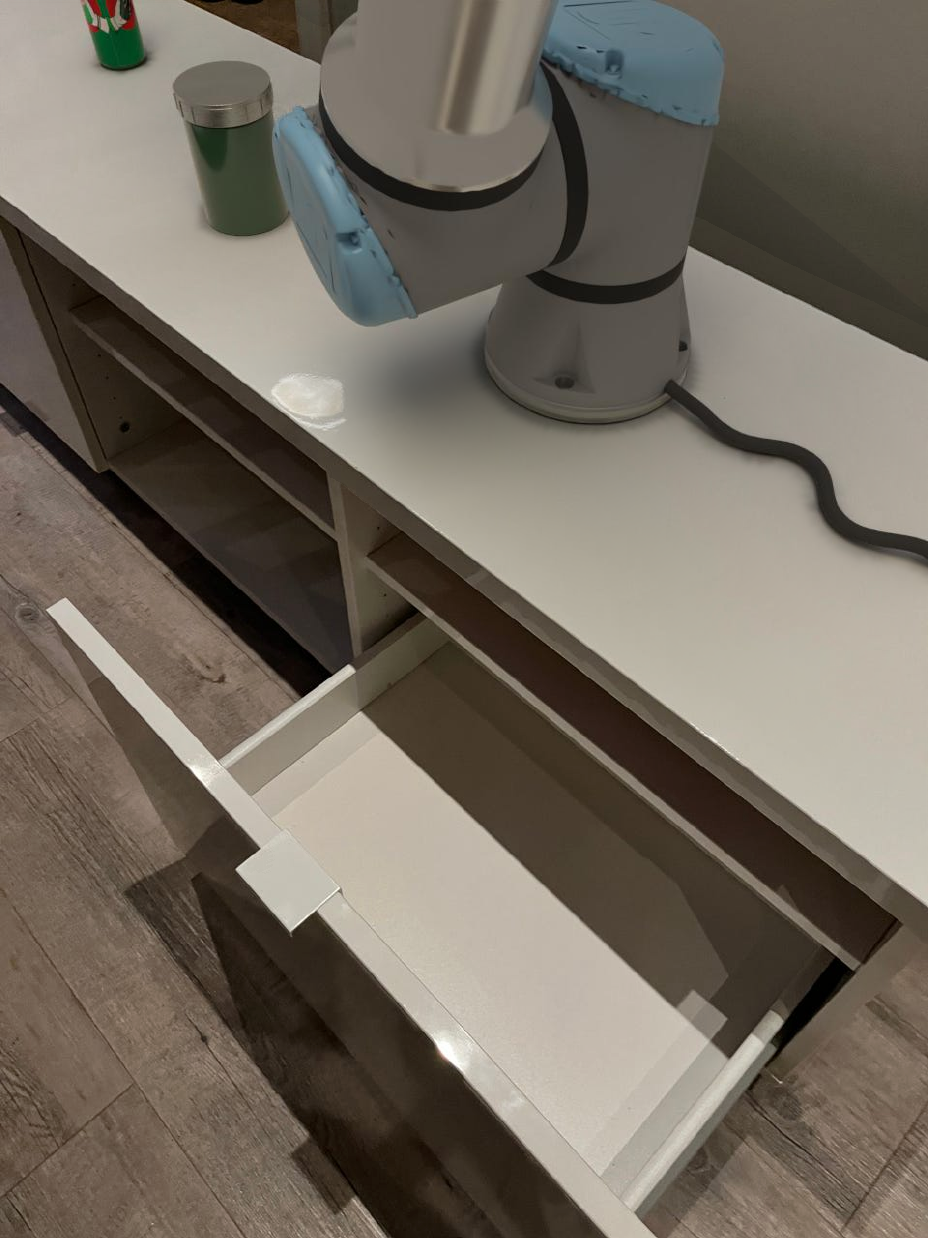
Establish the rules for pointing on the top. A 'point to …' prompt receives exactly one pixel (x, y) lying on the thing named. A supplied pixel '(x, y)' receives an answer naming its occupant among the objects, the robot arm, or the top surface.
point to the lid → (223, 94)
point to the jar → (238, 176)
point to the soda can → (115, 32)
